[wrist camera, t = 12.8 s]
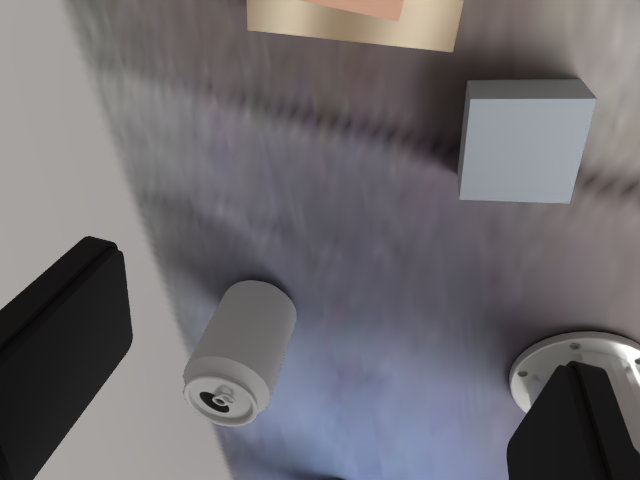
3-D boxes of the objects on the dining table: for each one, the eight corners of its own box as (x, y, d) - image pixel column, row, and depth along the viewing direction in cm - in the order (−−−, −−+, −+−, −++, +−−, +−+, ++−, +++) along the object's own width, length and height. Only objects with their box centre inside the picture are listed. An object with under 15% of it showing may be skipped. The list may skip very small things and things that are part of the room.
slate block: (580, 77, 31) (596, 98, 28) (556, 175, 35) (569, 203, 32) (466, 79, 32) (470, 99, 29) (457, 173, 36) (459, 199, 33)
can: (211, 296, 49) (156, 394, 39) (258, 261, 45) (210, 360, 35) (265, 340, 51) (225, 443, 41) (314, 311, 47) (283, 417, 37)
